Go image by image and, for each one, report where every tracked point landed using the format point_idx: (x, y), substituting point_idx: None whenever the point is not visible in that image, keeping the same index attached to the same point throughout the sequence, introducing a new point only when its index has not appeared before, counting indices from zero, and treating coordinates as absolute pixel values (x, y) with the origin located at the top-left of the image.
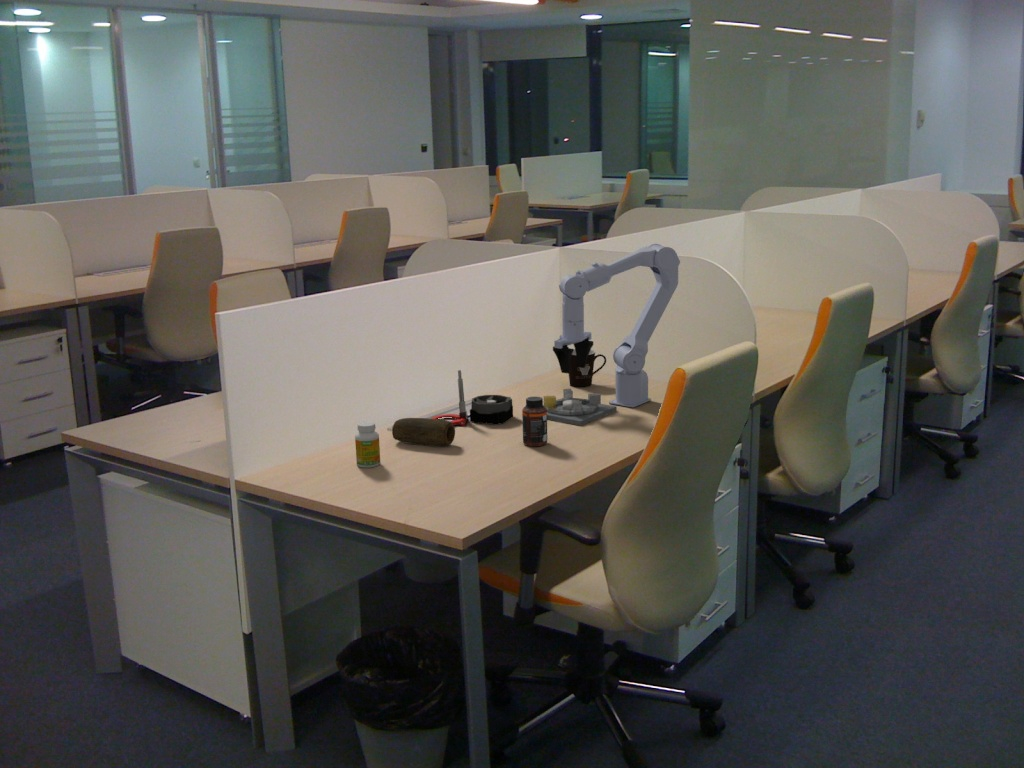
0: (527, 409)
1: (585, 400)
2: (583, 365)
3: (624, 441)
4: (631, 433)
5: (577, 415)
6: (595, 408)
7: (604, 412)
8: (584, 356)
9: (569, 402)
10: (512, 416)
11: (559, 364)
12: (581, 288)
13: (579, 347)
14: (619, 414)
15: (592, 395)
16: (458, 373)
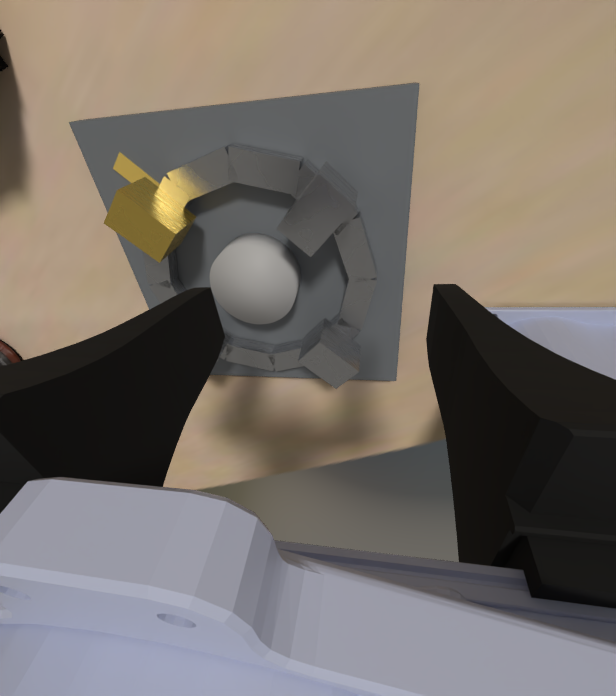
0: None
1: (351, 288)
2: (427, 349)
3: (188, 471)
4: (239, 465)
5: None
6: (288, 367)
7: (314, 375)
8: (445, 415)
9: (240, 280)
10: (1, 67)
11: (144, 313)
12: None
13: (481, 450)
14: (361, 392)
15: (309, 368)
16: None
